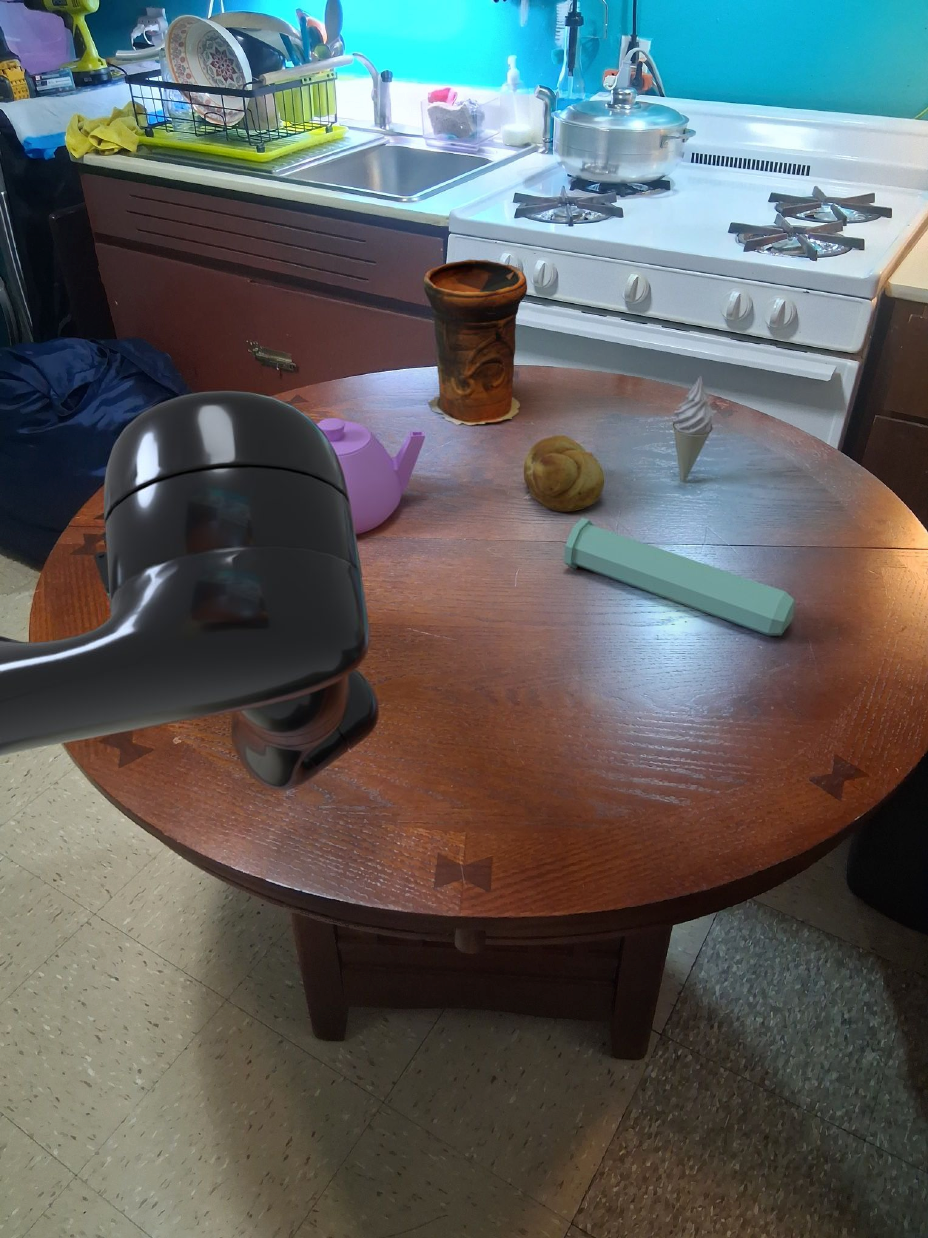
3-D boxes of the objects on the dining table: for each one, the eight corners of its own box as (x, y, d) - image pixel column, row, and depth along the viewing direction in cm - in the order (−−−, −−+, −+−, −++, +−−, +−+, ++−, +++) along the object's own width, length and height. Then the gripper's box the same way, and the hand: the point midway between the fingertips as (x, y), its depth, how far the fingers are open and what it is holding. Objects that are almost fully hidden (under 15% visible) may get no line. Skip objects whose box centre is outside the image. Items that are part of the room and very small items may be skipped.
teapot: (254, 553, 104) (236, 463, 96) (253, 486, 115) (238, 402, 108) (437, 532, 107) (434, 444, 99) (418, 470, 118) (414, 386, 111)
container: (806, 581, 88) (585, 507, 99) (784, 627, 86) (560, 547, 96) (799, 611, 93) (589, 538, 104) (778, 656, 91) (566, 576, 101)
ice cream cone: (656, 483, 115) (672, 375, 106) (675, 468, 118) (693, 362, 109) (690, 496, 113) (710, 386, 103) (709, 480, 116) (730, 373, 106)
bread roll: (511, 472, 118) (513, 417, 113) (580, 464, 119) (585, 410, 114) (537, 523, 108) (540, 465, 103) (611, 514, 110) (618, 457, 105)
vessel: (451, 438, 126) (448, 297, 113) (413, 398, 136) (407, 266, 123) (539, 418, 130) (546, 281, 118) (496, 382, 140) (499, 252, 128)
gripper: (286, 542, 74) (208, 465, 85) (119, 604, 68) (57, 512, 79) (297, 611, 79) (222, 530, 90) (142, 675, 73) (81, 579, 83)
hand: (146, 522), depth 84 cm, fingers closed on tumbler, 6 cm apart
